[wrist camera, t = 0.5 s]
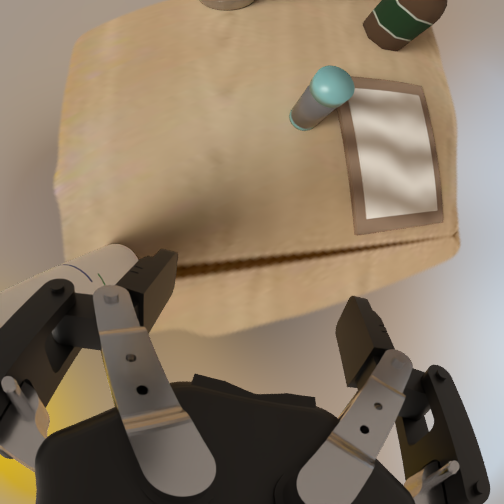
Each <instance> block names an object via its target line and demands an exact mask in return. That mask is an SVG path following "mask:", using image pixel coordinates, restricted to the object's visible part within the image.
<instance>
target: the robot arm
mask: <svg viewBox="0 0 504 504" xmlns="http://www.w3.org/2000/svg"><path fill="white" fill-rule="evenodd" d="M200 1H201V2H202V4H204V5H206V6H208V7H210V8H213V9H218V10H234V9H239V8H243V7H245V6H247V5H249V4H251V3H252V2H254V0H200ZM177 261H178V253H177V252H174V251H170V250H166V249H160V250H159V251H158V252H157V254H156V255H155V256H154V257H150V256H147V257H144V258H142V259H140V260H138V261H137V262H136V263H135V265H134V266H133V267H132V268H131V269H130V270H129V271H128V272H127V273H126V274H125V275H124V276H123V277H122V278H121V279H120V280H119V281H118V282H117V283H116V284H115V285H105V286H102V287H100V288H98V289H97V290H96V291H95V292H94V294H93V295H92V294H82V293H75V288H74V285H73V283H72V282H71V281H69V280H67V279H60V278H59V279H53V280H50V281H48V282H46V283H45V284H44V285H43V286H42V287H41V288H40V289H38V290H37V291H36V292H35V293H34V294H33V295H32V296H31V297H30V298H29V299H28V300H27V301H26V302H25V303H24V304H23V305H22V306H21V307H20V308H19V309H18V310H17V311H16V312H15V313H14V314H13V315H12V316H11V317H10V318H9V319H8V321H7V322H6V323H5V324H4V325H3V326H2V327H1V328H0V454H1V455H2V456H3V457H5V458H9V459H15V460H17V461H18V462H20V463H21V464H23V465H24V466H26V467H27V468H29V469H30V470H32V471H33V472H35V475H36V486H37V493H36V494H37V495H36V504H483V503H484V502H485V501H486V500H487V499H488V497H489V494H490V484H489V480H488V476H487V472H486V468H485V465H484V461H483V458H482V455H481V452H480V449H479V445H478V443H477V439H476V437H475V434H474V431H473V428H472V426H471V423H470V420H469V418H468V415H467V412H466V410H465V407H464V405H463V403H462V400H461V398H460V396H459V394H458V391H457V389H456V386H455V384H454V382H453V380H452V377H451V376H450V374H449V373H448V372H447V371H446V370H445V369H444V368H443V367H441V366H438V365H431V366H430V367H429V368H428V370H427V371H426V372H422V371H419V370H416V369H413V365H412V362H411V360H410V359H409V357H408V356H406V355H405V354H404V353H402V352H401V351H398V350H395V348H394V346H393V344H392V342H391V339H390V337H389V335H388V333H387V331H386V328H385V327H384V324H383V322H382V320H381V318H380V317H379V316H378V315H377V314H376V312H374V311H373V310H372V308H371V306H370V304H369V302H368V300H367V299H365V298H360V297H356V296H351V297H350V298H349V300H348V302H347V304H346V306H345V308H344V310H343V313H342V315H341V317H340V319H339V321H338V323H337V326H336V338H337V342H338V347H339V351H340V355H341V360H342V364H343V369H344V374H345V379H346V383H347V387H354V388H358V391H357V392H356V394H355V395H354V397H353V398H352V399H351V401H350V402H349V403H348V405H347V406H346V407H345V409H344V410H343V411H342V413H341V414H340V415H339V417H338V418H337V417H335V416H334V415H332V414H331V413H329V412H327V411H326V410H324V409H322V408H319V407H317V406H316V402H315V397H309V396H301V395H294V394H288V393H285V394H253V393H251V392H248V391H246V390H244V389H241V388H239V387H237V386H235V385H232V384H230V383H228V382H226V381H222V380H218V379H214V378H210V377H206V376H202V375H198V374H195V375H194V377H193V380H192V382H174V383H169V381H168V379H167V377H166V375H165V373H164V370H163V368H162V366H161V364H160V361H159V360H158V357H157V354H156V352H155V349H154V347H153V345H152V342H151V340H150V337H149V335H148V334H149V332H150V330H151V329H152V327H153V325H154V324H155V322H156V320H157V318H158V317H159V315H160V313H161V312H162V310H163V308H164V307H165V305H166V303H167V302H168V300H169V298H170V297H171V295H172V292H173V289H174V285H175V278H176V269H177ZM82 348H88V349H95V350H101V355H102V359H103V363H104V368H105V372H106V376H107V380H108V384H109V387H110V391H111V395H112V398H113V402H114V406H115V407H114V408H112V409H110V410H107V411H105V412H103V413H101V414H98V415H96V416H93V417H91V418H89V419H86V420H84V421H81V422H79V423H77V424H74V425H72V426H69V427H66V428H64V429H61V430H59V431H56V432H55V433H53V434H51V435H50V436H48V437H47V429H48V426H49V422H50V420H49V414H48V412H47V410H46V406H47V404H48V403H49V401H50V399H51V397H52V396H53V394H54V392H55V390H56V389H57V387H58V385H59V384H60V382H61V380H62V379H63V377H64V375H65V374H66V372H67V370H68V369H69V367H70V366H71V364H72V362H73V361H74V359H75V357H76V356H77V355H78V353H79V351H80V350H81V349H82ZM430 409H431V411H432V414H433V417H434V425H433V428H432V429H431V431H430V432H429V431H428V428H427V424H426V420H425V417H424V415H425V414H426V413H427V412H428V411H429V410H430ZM394 422H395V424H396V428H397V434H398V439H399V444H400V449H401V455H402V460H403V466H404V473H405V480H406V482H405V484H404V486H403V485H402V484H401V483H400V482H399V481H398V480H397V479H396V478H395V477H394V476H393V475H392V474H391V473H390V472H389V471H388V470H387V469H386V468H385V467H384V466H383V465H382V464H381V463H380V462H379V461H378V460H377V459H376V457H377V456H378V454H379V452H380V450H381V448H382V446H383V444H384V442H385V441H386V439H387V437H388V435H389V433H390V431H391V429H392V427H393V425H394Z"/></svg>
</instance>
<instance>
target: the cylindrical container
mask: <svg viewBox="0 0 504 504" xmlns="http://www.w3.org/2000/svg"><path fill="white" fill-rule="evenodd" d="M137 261H138V258H137V256H136V255H135V253H134V252H133V251H132V250H131V249H129V248H128V247H126V246H124V245H121V244H110V245H107V246H104V247H102V248H99V249H97V250H94V251H92V252H89V253H87V254H84V255H82V256H80V257H77V258H75V259H72V260H70V261H68V262H65V263H63V264H60V265H58V266H56V267H54V268H51V269H49V270H47V271H44V272H42V273H40V274H38V275H35V276H33V277H31V278H29V279H26V280H25V281H22V282H20V283H18V284H16V285H14V286H11V287H9V288H7V289H6V290H3V291H1V292H0V328H1V327H2V326H3V325H4V324H5V323H6V322H7V321H8V319H9V318H10V317H11V316H12V315H13V314H14V313H15V312H16V311H17V310H18V309H19V308H20V307H21V306H22V305H23V304H24V303H25V302H26V301H27V300H28V299H29V298H30V297H31V296H32V295H33V294H34V293H35V292H36V291H37V290H38V289H40V288H41V287H42V286H43V285H44V284H45V283H46V282H48V281H50V280H53V279H59V278H60V279H67V280H69V281H71V282H72V283H73V285H74V288H75V293H82V294H92V295H93V294H94V292H95V291H96V290H97V289H98V288H100V287H102V286H105V285H115V284H116V283H117V282H118V281H119V280H120V279H121V278H122V277H123V276H124V275H125V274H126V273H127V272H128V271H129V270H130V269H131V268H132V267H133V266H134V265H135V263H136V262H137Z"/></svg>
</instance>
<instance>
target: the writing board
mask: <svg viewBox="0 0 504 504" xmlns="http://www.w3.org/2000/svg"><path fill="white" fill-rule="evenodd" d="M351 78H352V80H353V82H354V87H355V90H354V94H353V96H352V97H351V98H350V99H349V100H347V101H346V102H345V103H344V104H342V105H341V106H339V107H337V112H338V117H339V122H340V127H341V133H342V138H343V144H344V150H345V156H346V163H347V170H348V177H349V185H350V193H351V202H352V211H353V222H354V233H355V235H364V234H370V233H377V232H384V231H390V230H397V229H404V228H410V227H417V226H424V225H430V224H437V223H443V207H442V194H441V183H440V175H439V167H438V160H437V153H436V147H435V141H434V136H433V131H432V126H431V121H430V117H429V112H428V108H427V104H426V100H425V96H424V93H423V89H422V86H419V85H413V84H408V83H402V82H395V81H388V80H381V79H372V78H362V77H351Z"/></svg>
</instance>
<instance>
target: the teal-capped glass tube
mask: <svg viewBox="0 0 504 504" xmlns="http://www.w3.org/2000/svg"><path fill="white" fill-rule="evenodd" d="M354 90H355V87H354V82H353V80H352V78H351V77H350V75H349V74H348V73H347V72H346V71H344V70H343V69H341V68H339V67H336V66H325V67H322V68H321V69H319V70H318V72H317V73H316V74H315V76H314V77H313V79H312V80H311V82H310V85H309V86H308V87H307V89H306V90H305V92H304V93H303V94H302V96H301V97H300V99H299V100H298V101H297V103H296V104H295V106H294V107H293V109H292V110H291V112H290V115H289V118H290V122H291V123H292V125H293V126H294V127H295V128H297V129H299V130H302V131H307V130H310V129H312V128H313V127H314V126H316V125H317V124H318V123H319V122H320V121H321V120H323V119H324V118H325V117H326V116H327V115H329V114H330V113H331V112H332V111H333V110H335V109H336V108H337V107H339V106H341V105H342V104H344V103H345V102H346V101H347V100H349V99H350V98H351V97H352V96H353V94H354Z"/></svg>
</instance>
